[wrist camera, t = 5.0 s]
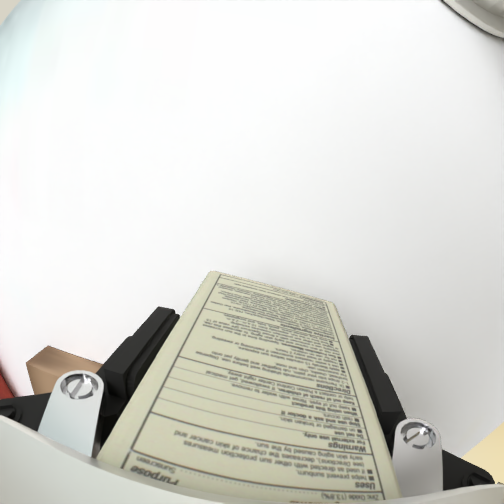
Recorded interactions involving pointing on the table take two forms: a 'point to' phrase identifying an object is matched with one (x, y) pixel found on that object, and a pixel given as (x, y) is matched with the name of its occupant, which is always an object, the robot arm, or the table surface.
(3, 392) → the plant saucer
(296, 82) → the table surface
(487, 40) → the table surface
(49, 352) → the base slab
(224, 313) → the skincare box
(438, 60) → the table surface
